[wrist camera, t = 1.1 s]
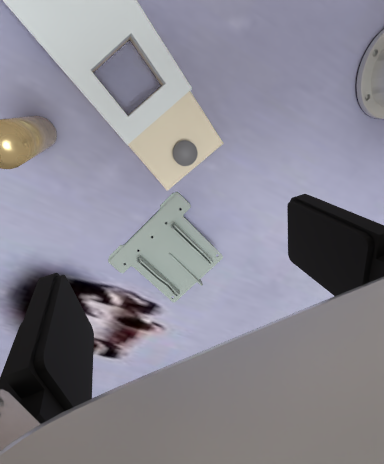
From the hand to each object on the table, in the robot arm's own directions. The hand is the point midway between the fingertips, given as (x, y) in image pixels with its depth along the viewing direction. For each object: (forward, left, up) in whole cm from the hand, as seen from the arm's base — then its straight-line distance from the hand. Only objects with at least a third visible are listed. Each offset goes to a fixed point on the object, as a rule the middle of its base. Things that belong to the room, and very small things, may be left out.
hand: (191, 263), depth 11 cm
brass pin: (+7, -9, -28) cm, 30 cm away
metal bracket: (+6, +14, -28) cm, 32 cm away
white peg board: (-5, -7, -28) cm, 29 cm away
